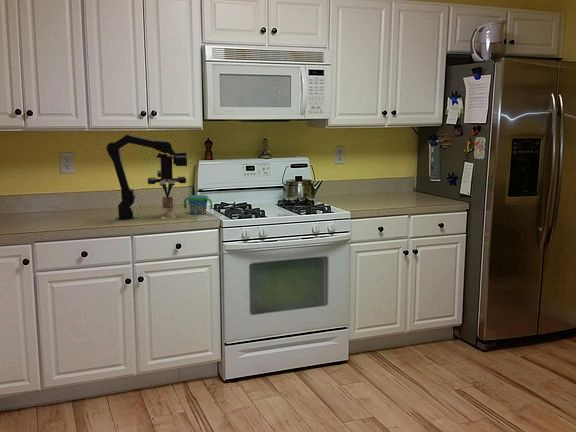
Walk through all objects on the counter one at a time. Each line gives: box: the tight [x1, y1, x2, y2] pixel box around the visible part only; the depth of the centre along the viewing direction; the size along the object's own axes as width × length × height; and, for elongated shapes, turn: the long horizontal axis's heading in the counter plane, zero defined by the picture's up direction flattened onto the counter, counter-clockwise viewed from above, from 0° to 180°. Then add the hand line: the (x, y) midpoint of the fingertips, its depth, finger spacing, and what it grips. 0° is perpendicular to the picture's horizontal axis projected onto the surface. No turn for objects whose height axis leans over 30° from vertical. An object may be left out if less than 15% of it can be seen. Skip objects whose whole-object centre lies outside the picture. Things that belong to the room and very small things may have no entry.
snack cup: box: [183, 194, 213, 216], centre depth 320 cm, size 16×10×10 cm
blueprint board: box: [160, 215, 177, 220], centre depth 313 cm, size 16×20×1 cm
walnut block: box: [161, 196, 174, 209], centre depth 307 cm, size 5×5×5 cm
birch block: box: [162, 207, 175, 219], centre depth 308 cm, size 5×5×5 cm
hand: (167, 197), depth 307 cm, fingers closed
